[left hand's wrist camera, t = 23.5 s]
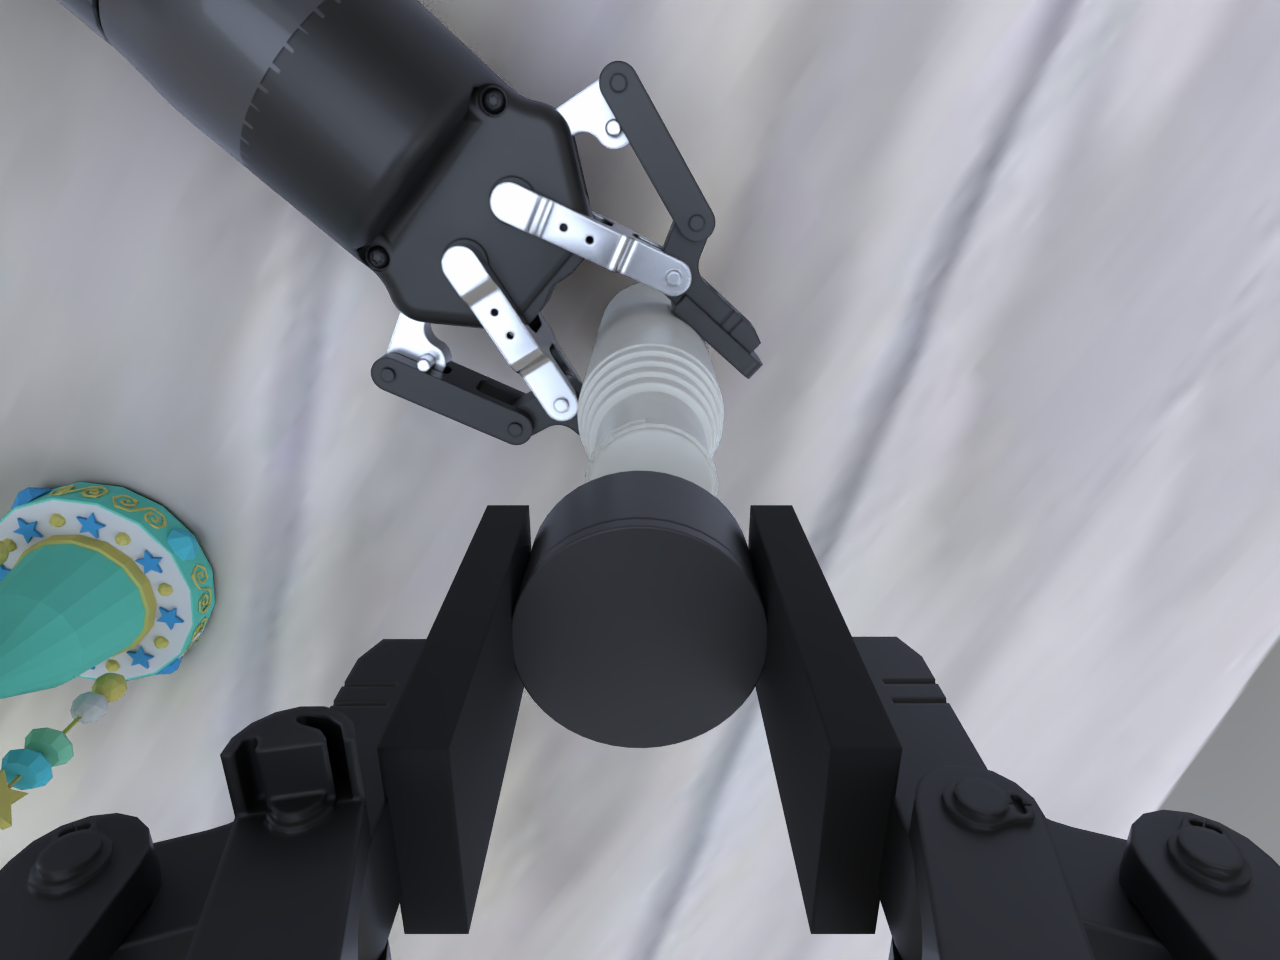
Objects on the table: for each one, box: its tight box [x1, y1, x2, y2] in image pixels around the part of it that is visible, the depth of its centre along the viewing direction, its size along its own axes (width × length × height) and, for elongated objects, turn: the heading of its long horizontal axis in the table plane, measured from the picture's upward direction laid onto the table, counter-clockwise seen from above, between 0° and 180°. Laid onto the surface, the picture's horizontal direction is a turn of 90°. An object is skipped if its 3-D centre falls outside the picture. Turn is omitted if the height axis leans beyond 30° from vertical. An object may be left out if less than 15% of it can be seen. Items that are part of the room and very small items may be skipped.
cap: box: [512, 471, 768, 748], centre depth 14 cm, size 4×4×2 cm
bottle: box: [577, 283, 724, 497], centre depth 26 cm, size 4×4×18 cm
